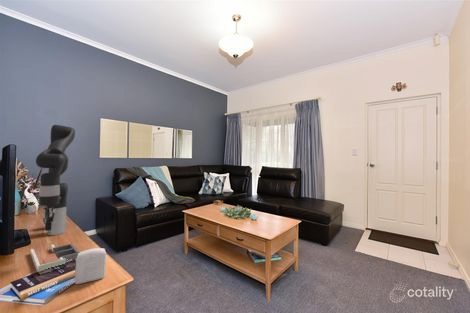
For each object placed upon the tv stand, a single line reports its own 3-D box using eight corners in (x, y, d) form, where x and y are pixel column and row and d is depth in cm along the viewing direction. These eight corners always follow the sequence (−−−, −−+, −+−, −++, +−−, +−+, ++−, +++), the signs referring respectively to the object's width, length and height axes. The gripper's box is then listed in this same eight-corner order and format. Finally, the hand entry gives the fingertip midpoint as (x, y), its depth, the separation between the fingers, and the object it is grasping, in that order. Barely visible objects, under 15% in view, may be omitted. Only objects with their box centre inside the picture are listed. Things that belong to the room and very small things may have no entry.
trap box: (30, 254, 107) (30, 246, 107) (69, 245, 119) (69, 238, 119) (38, 275, 87) (38, 266, 87) (83, 262, 99) (84, 253, 99)
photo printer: (105, 273, 90) (106, 245, 90) (105, 278, 86) (106, 248, 87) (75, 280, 84) (76, 250, 84) (74, 286, 80) (75, 254, 81)
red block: (42, 267, 94) (43, 258, 94) (55, 264, 97) (55, 255, 98) (45, 272, 90) (45, 263, 90) (58, 268, 94) (58, 259, 94)
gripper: (62, 195, 99) (60, 231, 99) (57, 192, 108) (55, 225, 108) (41, 197, 94) (39, 235, 93) (37, 193, 102) (35, 228, 102)
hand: (48, 230), depth 100 cm, fingers closed
